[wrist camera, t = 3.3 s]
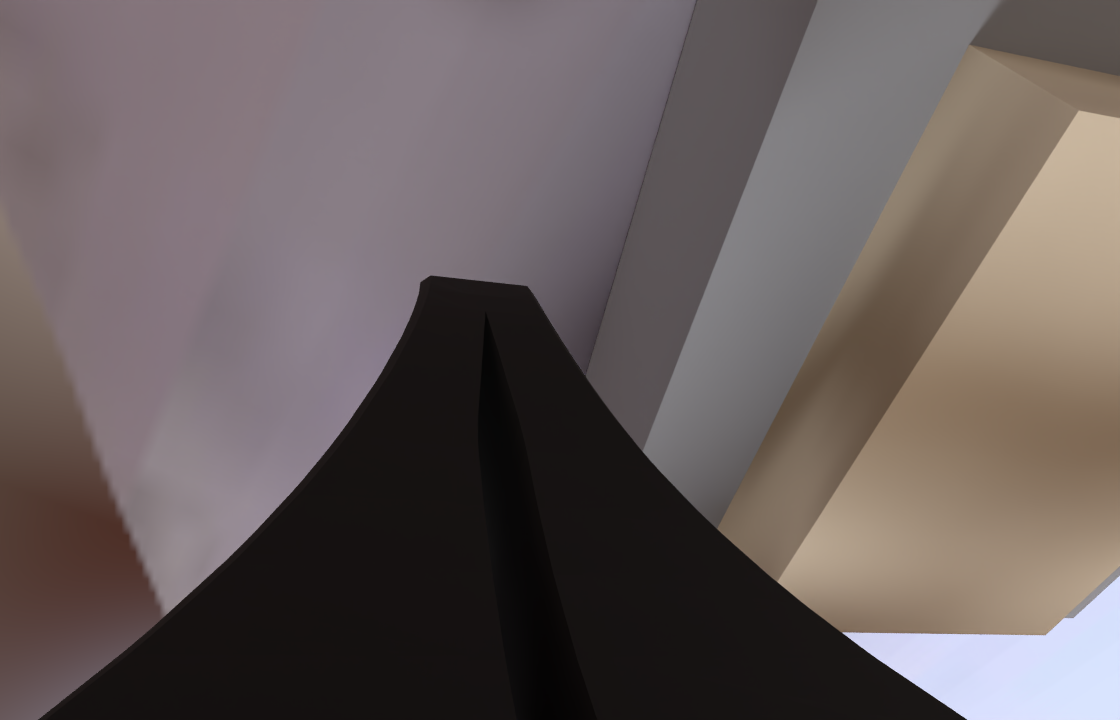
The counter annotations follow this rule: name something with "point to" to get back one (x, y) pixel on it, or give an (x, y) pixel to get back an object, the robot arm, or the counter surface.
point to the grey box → (783, 203)
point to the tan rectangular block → (963, 378)
